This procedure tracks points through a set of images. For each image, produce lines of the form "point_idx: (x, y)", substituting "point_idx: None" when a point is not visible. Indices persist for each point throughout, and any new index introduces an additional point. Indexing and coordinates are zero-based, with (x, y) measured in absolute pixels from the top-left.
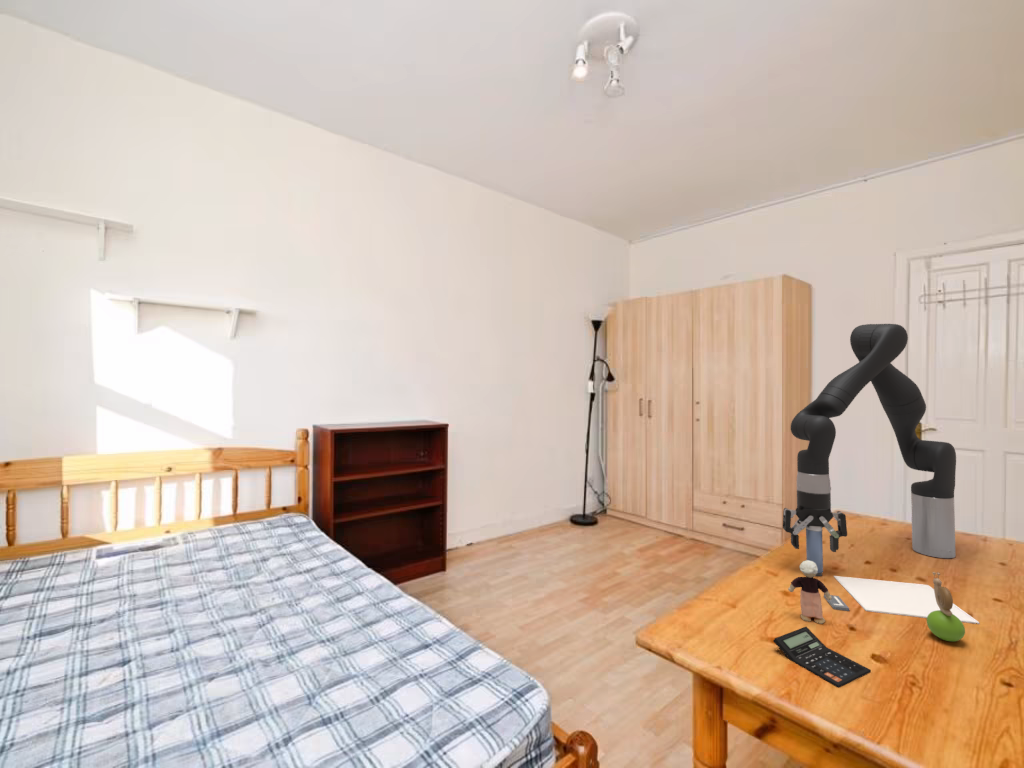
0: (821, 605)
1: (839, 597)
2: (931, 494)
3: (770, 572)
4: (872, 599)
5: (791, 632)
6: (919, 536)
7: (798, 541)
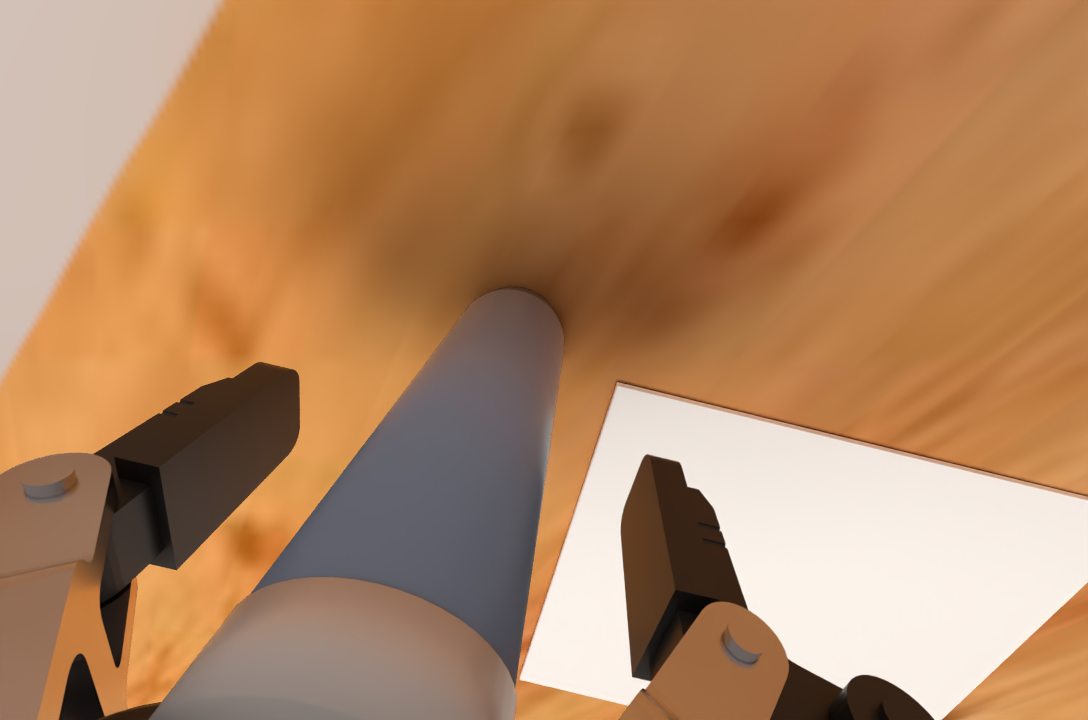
0: None
1: None
2: None
3: (215, 309)
4: (617, 625)
5: None
6: None
7: (235, 503)
